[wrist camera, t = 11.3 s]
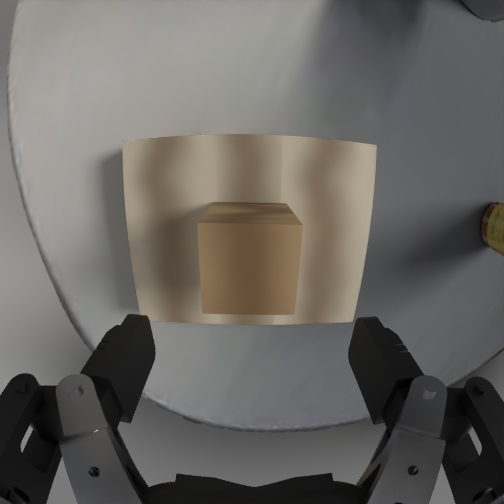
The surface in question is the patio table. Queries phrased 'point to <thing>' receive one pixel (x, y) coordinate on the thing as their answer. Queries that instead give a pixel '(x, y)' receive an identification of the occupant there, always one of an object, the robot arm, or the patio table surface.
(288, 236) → the oak peg
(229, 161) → the birch board
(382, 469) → the robot arm
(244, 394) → the patio table surface
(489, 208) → the sauce bottle
